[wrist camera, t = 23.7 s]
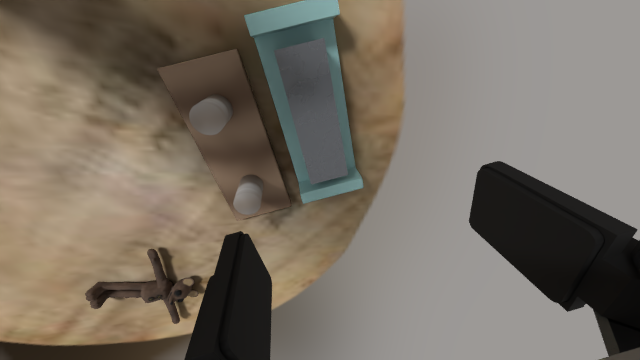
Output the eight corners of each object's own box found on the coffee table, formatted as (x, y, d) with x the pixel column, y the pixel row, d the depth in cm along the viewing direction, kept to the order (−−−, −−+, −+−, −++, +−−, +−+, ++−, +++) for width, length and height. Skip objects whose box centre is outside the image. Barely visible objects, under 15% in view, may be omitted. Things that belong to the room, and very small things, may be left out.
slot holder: (249, 20, 22) (243, 15, 19) (328, 1, 23) (336, -8, 19) (300, 187, 33) (303, 203, 29) (354, 173, 33) (363, 187, 29)
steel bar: (274, 50, 23) (273, 50, 20) (317, 39, 23) (324, 37, 20) (307, 169, 30) (311, 184, 27) (340, 160, 30) (348, 174, 27)
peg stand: (161, 67, 23) (130, 71, 18) (237, 48, 23) (226, 47, 19) (237, 216, 33) (230, 243, 29) (291, 202, 34) (292, 227, 29)
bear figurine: (58, 261, 29) (176, 264, 31) (86, 238, 33) (190, 241, 35) (107, 338, 38) (197, 337, 39) (124, 312, 42) (207, 312, 43)
